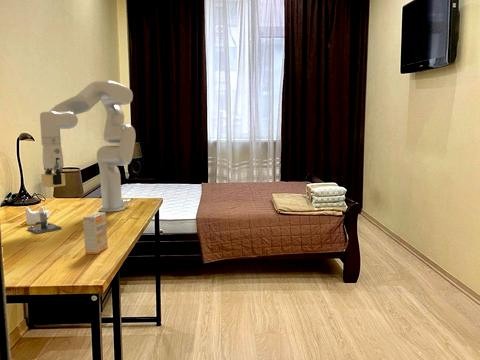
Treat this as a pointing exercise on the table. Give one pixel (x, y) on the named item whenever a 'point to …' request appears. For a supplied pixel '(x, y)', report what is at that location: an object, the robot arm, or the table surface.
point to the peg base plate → (44, 225)
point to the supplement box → (95, 232)
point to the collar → (51, 180)
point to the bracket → (34, 215)
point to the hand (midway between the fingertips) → (53, 183)
